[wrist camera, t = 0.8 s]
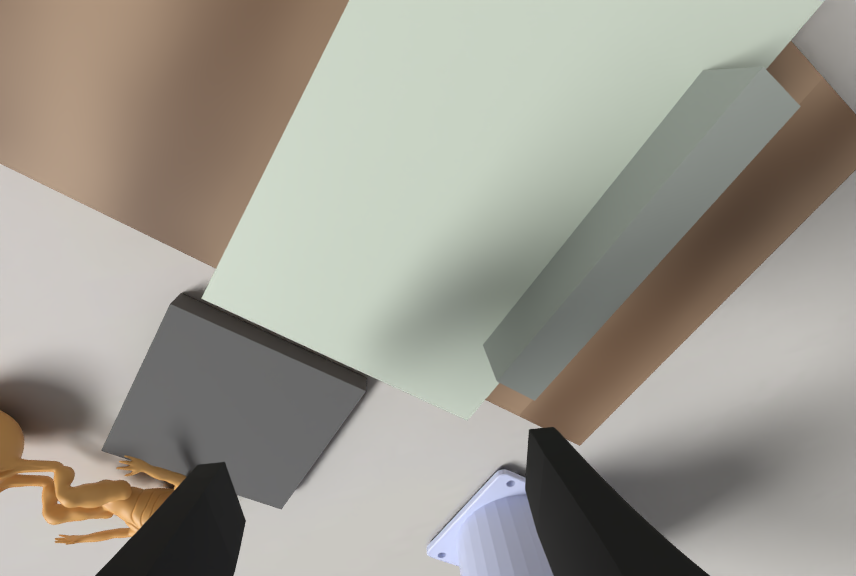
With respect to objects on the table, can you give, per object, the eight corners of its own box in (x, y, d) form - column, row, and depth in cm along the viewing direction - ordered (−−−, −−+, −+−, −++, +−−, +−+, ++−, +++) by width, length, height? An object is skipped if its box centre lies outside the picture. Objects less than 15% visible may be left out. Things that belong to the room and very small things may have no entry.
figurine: (-133, 401, 14) (162, 601, 16) (45, 320, 20) (248, 476, 21) (-169, 510, 17) (82, 666, 19) (-7, 414, 23) (175, 543, 25)
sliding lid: (769, 9, 12) (916, -22, 9) (459, 389, 17) (478, 463, 14) (507, -292, 9) (578, -511, 6) (222, 274, 14) (171, 333, 11)
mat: (366, 377, 21) (365, 391, 20) (285, 493, 23) (281, 509, 22) (181, 293, 18) (170, 303, 17) (113, 435, 21) (101, 450, 20)
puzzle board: (804, 135, 17) (881, 143, 15) (556, 402, 22) (579, 445, 20) (65, -627, 9) (-74, -940, 6) (-72, 77, 14) (-182, 74, 11)
